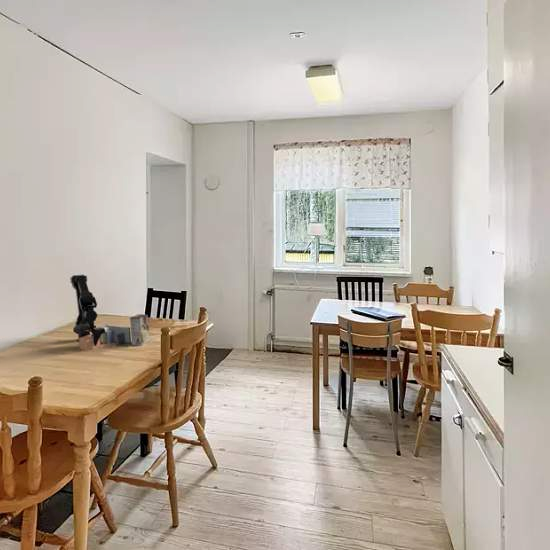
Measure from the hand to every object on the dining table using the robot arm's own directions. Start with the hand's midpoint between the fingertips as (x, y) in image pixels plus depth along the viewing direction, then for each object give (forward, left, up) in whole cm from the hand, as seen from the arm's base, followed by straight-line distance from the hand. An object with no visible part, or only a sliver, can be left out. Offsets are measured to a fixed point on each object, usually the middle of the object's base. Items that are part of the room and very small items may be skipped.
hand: (90, 344), depth 231 cm
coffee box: (+21, +17, -2) cm, 27 cm away
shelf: (+5, +12, -1) cm, 14 cm away
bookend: (+12, +12, -1) cm, 17 cm away
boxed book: (0, 0, -1) cm, 1 cm away
